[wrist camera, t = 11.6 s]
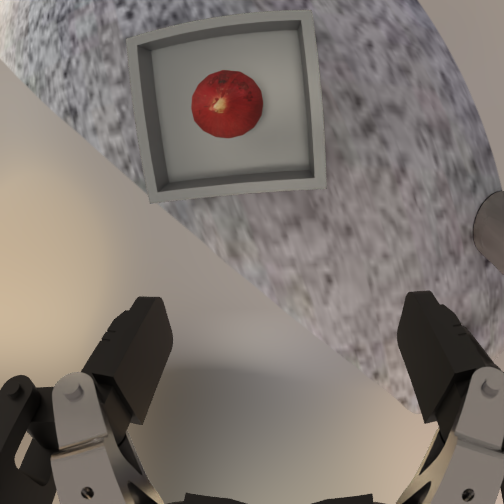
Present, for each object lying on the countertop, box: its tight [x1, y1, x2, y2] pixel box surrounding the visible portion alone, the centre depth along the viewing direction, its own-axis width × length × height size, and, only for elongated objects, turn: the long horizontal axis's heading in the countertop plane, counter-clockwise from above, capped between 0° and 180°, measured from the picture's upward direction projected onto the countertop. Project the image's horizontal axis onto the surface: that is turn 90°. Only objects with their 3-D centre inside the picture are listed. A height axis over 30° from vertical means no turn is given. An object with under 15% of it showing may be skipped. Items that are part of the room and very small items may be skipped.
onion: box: [191, 70, 263, 138], centre depth 22 cm, size 6×6×8 cm
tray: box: [126, 10, 327, 204], centre depth 25 cm, size 16×16×4 cm
